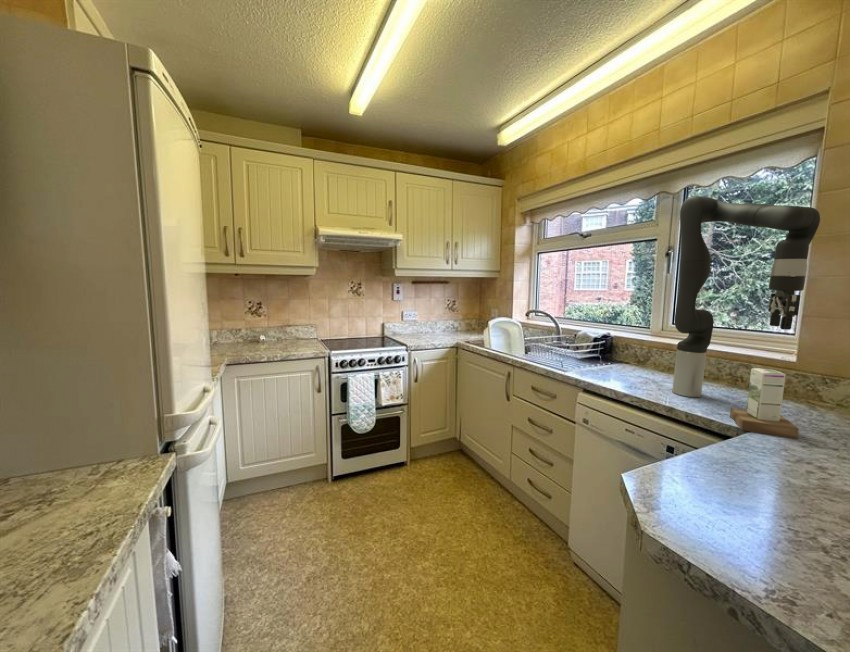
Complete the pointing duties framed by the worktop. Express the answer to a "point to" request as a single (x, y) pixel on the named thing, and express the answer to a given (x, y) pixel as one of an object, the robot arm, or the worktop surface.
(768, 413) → the syrup box
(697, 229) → the robot arm
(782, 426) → the walnut plinth
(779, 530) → the worktop surface
